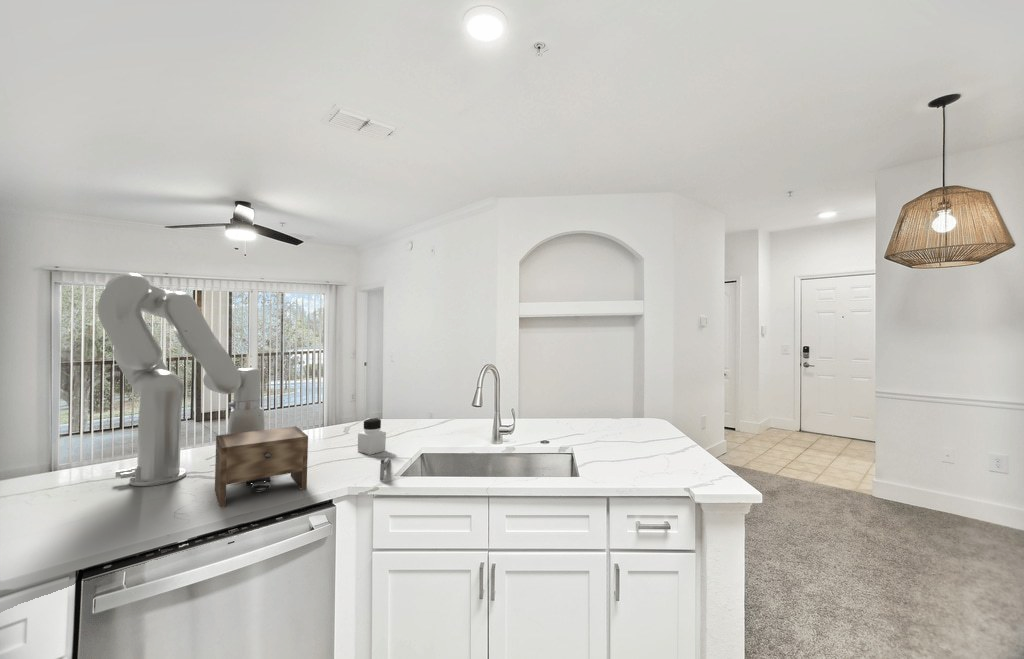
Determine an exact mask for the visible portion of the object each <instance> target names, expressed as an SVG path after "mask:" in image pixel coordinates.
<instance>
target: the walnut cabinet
mask: <svg viewBox="0 0 1024 659" xmlns="http://www.w3.org/2000/svg"><path fill="white" fill-rule="evenodd" d="M308 451H309V435H308V434H306V433H305V432H304V431H303V430H301V429H300V427H298V426H289V427H278V428H271V429H269V428H268V429H265V430H261V431H252V432H244V433H235V434H227V433H226V434H221V435H220V434H219V435H215V462H214V463H215V467H214V468H215V469H214V470H215V472H214V473H215V474H214V493H215V492H216V493H215V496H217V497H216V500H217V502H218V503H219V504H218V507H221V508H225V507H226V501H227V499H226V498H227V497H226V496H227V494H226V493H227V491H226V489H227V485H233V484H237V483H244V482H246V481H250V480H255V479H261V478H266V477H270V478H271V477H277V476H282V475H283V476H284V475H286V474H290V477H291V479H292V480H293V481H294V483H295V484H296V485H297V486H298V487H299V489H300V490H301V491H306V490H307V488H308V455H309V454H308V453H309V452H308Z"/></svg>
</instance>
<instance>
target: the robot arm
mask: <svg viewBox="0 0 1024 659" xmlns="http://www.w3.org/2000/svg"><path fill="white" fill-rule="evenodd" d="M142 312H143V313H147V314H149V315H153V316H156V317H158V318H159V317H160V318H163V319H165V320H166V321H167V323H168V325H169V326H170V328H171V329H172V331H173V333H174V334H175V337H176V338H177V339H178V341H179V344H180V345H181V347H182V348H183V349H184V350H185V351H186V352H187V353H188V354H190V355H191V356H192V357H193V358H194V359H196V361H197V362H198V363H199V364H200V365H201V367H202V368H203V370H204V371H205V374H204V376H203V379H202V380H203V385H204V386H205V388H206V389H208V390H210V391H212V392H215V393H219V394H220V395H221V394H222V395H230V394H233V401H231V402H228V403H227V406H228V408H233V409H231V410H230V413H229V417H228V424H227V425H228V426H227V433H226V434H235V433H244V432H252V431H261V430H266V428H265V426H266V425H265V424H266V423H265V414H264V409H263V407H262V406H261V386H262V383H261V382H262V371H261V369H260V368H257V367H241V368H237V366H236V365H235V363H234V360H232V358H231V356H230V354H228V351H226V349H225V347H223V345H222V343H221V342H220V341H219V340H218V338H217V337H216V336H215V334H214V332H213V331H212V329H211V328H210V327H211V326H210V325H209V324H208V322H207V320H206V318H205V316H204V315H203V313H202V310H201V309H200V308H199V306H198V304H197V302H196V300H195V299H194V298H193V297H192V295H190V294H189V293H186V292H183V291H170V290H167V289H165V288H161V287H158V286H156V285H153V284H151V283H150V281H149V280H148V278H147V277H145V276H143V275H141V274H138V273H134V272H124V273H122V274H117V275H116V276H114V277H111V278H110V279H109V280H108V281H107V282H106V285H105V289H103V291H102V293H101V294H100V296H99V299H98V302H97V316H98V319H99V322H100V324H101V326H102V328H103V330H104V332H105V333H106V335H107V337H108V339H109V341H110V343H111V344H112V346H113V347H114V348H113V352H112V355H113V358H114V360H115V362H116V364H117V366H118V367H119V369H120V371H121V373H122V374H123V376H124V377H125V379H126V380H127V381H128V383H129V385H130V386H131V388H132V390H133V391H134V392H135V394H136V395H137V396H139V397H140V400H139V408H138V419H137V420H138V421H137V422H138V423H137V424H138V425H137V427H138V429H137V460H136V461H137V462H136V464H135V466H133V467H130V468H127V469H118V470H115V478H120V479H124V478H129V484H130V485H131V486H134V487H151V486H159V485H163V484H168V483H172V482H177V481H178V480H180V479H183V478H184V477H185V476H186V475H187V469H185V468H184V467H181V438H182V435H181V434H182V410H183V409H182V408H183V400H184V394H185V386H184V385H185V384H184V382H183V379H182V378H181V377H180V376H179V375H178V374H176V373H175V372H172V371H170V370H169V369H168V368H167V366H166V364H165V363H164V361H163V359H162V358H163V351H162V347H161V346H160V345H159V343H158V341H157V340H156V338H155V337H154V335H153V334H152V331H151V330H150V329H149V327H148V326H147V323H146V321H145V319H144V317H143V314H142Z"/></svg>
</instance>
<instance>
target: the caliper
mask: <svg viewBox="0 0 1024 659" xmlns="http://www.w3.org/2000/svg"><path fill="white" fill-rule="evenodd" d="M390 460H391V459H390V457H386V458H383V459H380V466H379V467H380V468H379V481H381V482H383V481H384V479H385V471H386V469H387V466H388V465H389V463H390Z"/></svg>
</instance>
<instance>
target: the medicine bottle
mask: <svg viewBox="0 0 1024 659" xmlns="http://www.w3.org/2000/svg"><path fill="white" fill-rule="evenodd" d="M381 426H382V421H381V419H380V418H378V417H369V418H366V419H364V420H363V430H362V431H360V432H358V433H357V452H358V453H360V454H364V455H369V456H371V455H375V453H376V454H377V453H378V454H379V453H383V452H385V451H386V446H387V445H386V442H387V441H386V438H387V432H386V431H384V430H382V428H381Z"/></svg>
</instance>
